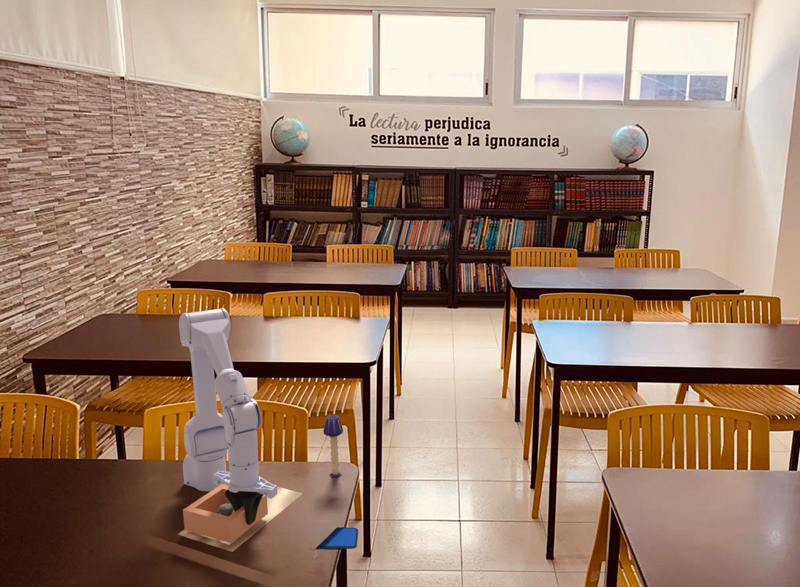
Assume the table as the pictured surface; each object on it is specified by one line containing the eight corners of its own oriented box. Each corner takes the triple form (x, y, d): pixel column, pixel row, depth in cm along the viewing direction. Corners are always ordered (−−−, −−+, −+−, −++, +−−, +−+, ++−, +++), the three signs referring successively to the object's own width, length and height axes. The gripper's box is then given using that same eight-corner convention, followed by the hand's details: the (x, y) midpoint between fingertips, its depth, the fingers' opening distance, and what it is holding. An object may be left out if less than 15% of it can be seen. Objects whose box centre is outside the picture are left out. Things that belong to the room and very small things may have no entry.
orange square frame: (184, 529, 140) (182, 509, 139) (223, 502, 150) (221, 484, 149) (231, 543, 135) (229, 522, 134) (267, 513, 145) (266, 494, 144)
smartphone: (356, 547, 137) (282, 546, 137) (356, 551, 138) (282, 550, 137) (358, 527, 144) (287, 526, 144) (358, 530, 145) (287, 529, 144)
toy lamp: (339, 487, 162) (338, 421, 158) (321, 484, 163) (319, 419, 159) (347, 478, 166) (346, 413, 162) (329, 475, 167) (328, 411, 164)
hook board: (178, 540, 140) (176, 515, 139) (253, 486, 162) (252, 464, 161) (232, 558, 134) (231, 532, 133) (303, 499, 156) (302, 476, 155)
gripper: (201, 461, 137) (205, 522, 140) (261, 476, 130) (263, 539, 134) (224, 447, 143) (228, 505, 146) (282, 461, 137) (284, 522, 140)
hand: (246, 521), depth 140 cm, fingers closed on orange square frame, 2 cm apart
